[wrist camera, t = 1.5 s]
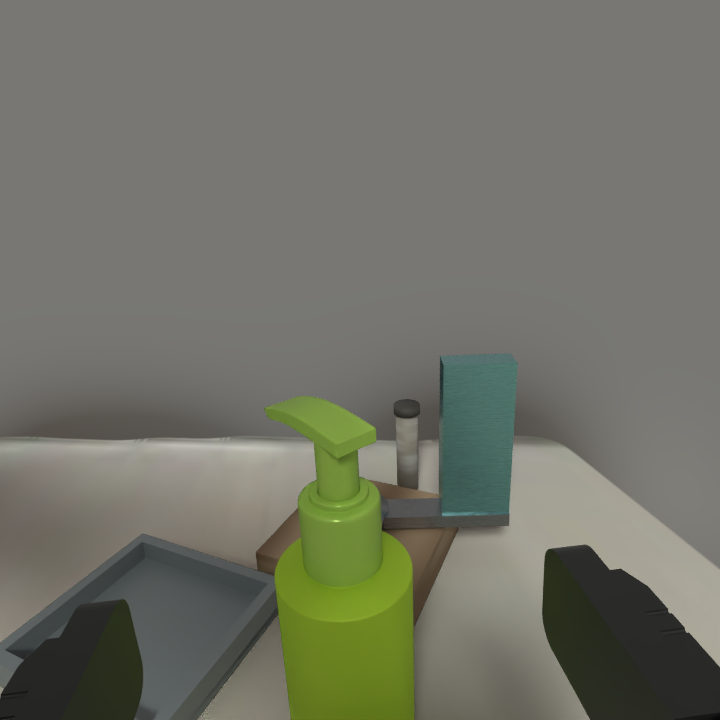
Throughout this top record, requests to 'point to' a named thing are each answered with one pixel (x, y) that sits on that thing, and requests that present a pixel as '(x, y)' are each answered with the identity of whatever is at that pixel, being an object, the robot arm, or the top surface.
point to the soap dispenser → (343, 582)
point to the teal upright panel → (468, 448)
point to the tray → (167, 621)
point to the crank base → (419, 542)
